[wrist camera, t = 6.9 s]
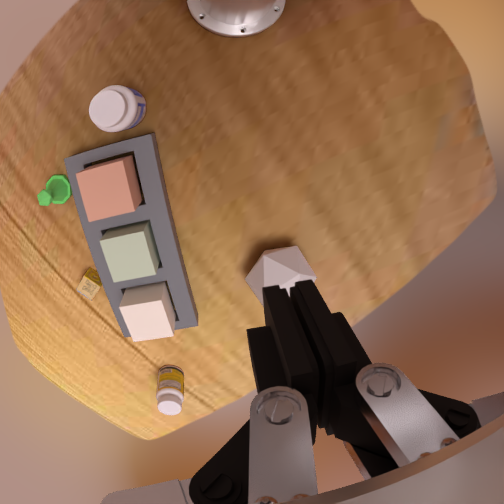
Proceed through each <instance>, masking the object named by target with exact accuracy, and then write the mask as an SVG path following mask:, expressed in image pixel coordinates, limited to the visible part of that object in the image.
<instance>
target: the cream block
mask: <svg viewBox="0 0 504 504" xmlns="http://www.w3.org/2000/svg"><path fill="white" fill-rule="evenodd" d="M119 308H120V311H121V313H122V316H123V318H124V321H125V323H126V325H127V328H128V330H129V332H130V334H131V337H132V339H133V341H134V342H137V341H144V340H151V339H157V338H164V337H170V336H174V328H175V318H176V315H175V311H174V308H173V305H172V302H171V299H170V296H169V293H168V289H167V286H166V283H165V281H162V282H157V283H151V284H146V285H141V286H135V287H130V288H126V290H125V292H124V295H123V298H122V300H121V303H120V306H119Z"/></svg>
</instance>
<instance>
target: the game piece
mask: <svg viewBox="0 0 504 504" xmlns="http://www.w3.org/2000/svg"><path fill="white" fill-rule="evenodd" d="M71 195H72V189H71V185H70V181H69V179H68V178H67V177H66V176H65V175H53V176H52V177H51V178H50V180H49V181H48V182H47V183H46V190H45V189H43V190H42V191H41V192H40V193H39V194H38V195H37V196H38V200H39V204H40V205H45V206H49V204H50V203H51V202H53V203H54V204H64V203H65V202H66V201H67V200H68V199H69V197H70V196H71Z"/></svg>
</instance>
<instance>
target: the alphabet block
mask: <svg viewBox="0 0 504 504" xmlns="http://www.w3.org/2000/svg"><path fill="white" fill-rule="evenodd" d="M101 285H102V282H101V279H100V276H99V274H98V272H97V271H95V270H94V269H92V268H91V267H90V268H89V269H88V271H87V272H86V273H85V275H84V276H83V278H82V280H81V282H80V284H79V285H78V287H77V289H76V290H77V291H78V292H80V293H81V294H83V295H84V296H86V297H87V298H89V299H90V300H91V301H92V300H93V299H94V297H95V295H96V294H97V292H98V290H99V289H100V287H101Z"/></svg>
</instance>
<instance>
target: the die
mask: <svg viewBox="0 0 504 504" xmlns="http://www.w3.org/2000/svg"><path fill="white" fill-rule="evenodd" d="M316 278H317V277H316V275H315V273H314V272H313V270H312V269H311V267H310V266H309V264H308V262H307V261H306V259H305V258H304V256H303V255H302V253H301V252H300V250H299V248H298V247H297V246H291V247H284V248H277V249H271V250H264V252H263V253H262V255H261V256H260V258H259V259H258V261H257V262H256V264H255V265H254V266H253V268H252V269H251V271H250V272H249V274H248V275H247V277H246V278H245V280H246V282H247V283H248V285H249V286H250V288H251V289H252V291H253V292H254V294H255V295H256V297H257V298H258V299H259V301H260V302H261V304H262V305H263V307H264V304H263V294H262V287H268V286H274V285H279V287H280V289H282V288H286V290H287V292H288V295H289V297H290V287H293V286H295V282H297V281H303V280H309V279H312V281H313V282H314V281H315V280H316Z"/></svg>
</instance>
